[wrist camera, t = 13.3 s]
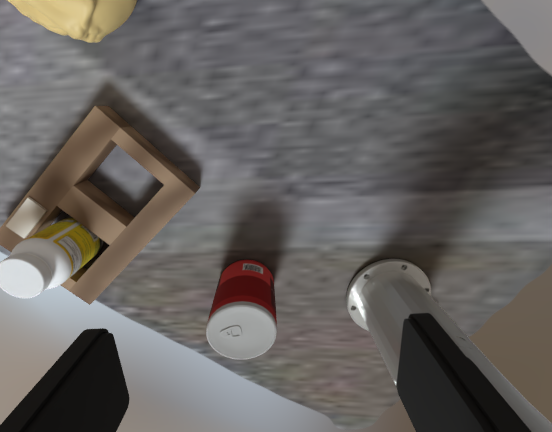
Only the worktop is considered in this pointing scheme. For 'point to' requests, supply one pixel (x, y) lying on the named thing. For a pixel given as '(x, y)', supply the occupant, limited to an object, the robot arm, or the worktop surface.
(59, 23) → the sculpture
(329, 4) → the worktop surface
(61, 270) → the pill bottle
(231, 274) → the canned food
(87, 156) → the socket rack
